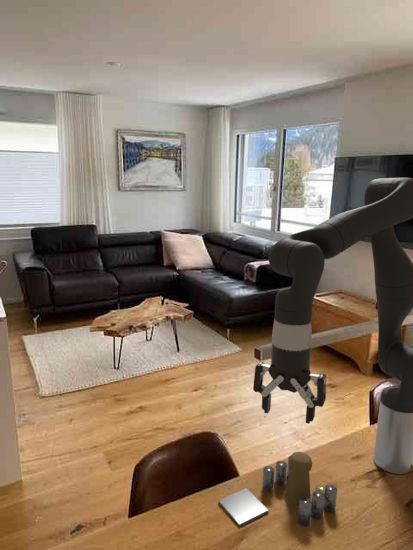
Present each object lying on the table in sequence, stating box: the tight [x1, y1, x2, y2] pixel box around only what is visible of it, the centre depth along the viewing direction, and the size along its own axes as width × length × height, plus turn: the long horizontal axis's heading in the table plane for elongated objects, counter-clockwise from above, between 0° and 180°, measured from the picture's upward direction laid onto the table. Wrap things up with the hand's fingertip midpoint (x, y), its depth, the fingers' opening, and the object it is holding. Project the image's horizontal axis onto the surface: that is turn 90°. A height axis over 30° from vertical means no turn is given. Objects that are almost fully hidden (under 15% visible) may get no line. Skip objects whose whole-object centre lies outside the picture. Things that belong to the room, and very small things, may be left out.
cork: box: [283, 451, 313, 508], centre depth 96 cm, size 6×6×11 cm
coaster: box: [218, 487, 269, 527], centre depth 93 cm, size 8×8×1 cm
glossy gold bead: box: [314, 483, 327, 495], centre depth 99 cm, size 3×3×1 cm
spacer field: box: [261, 455, 338, 527], centre depth 96 cm, size 11×15×5 cm
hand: (287, 416), depth 85 cm, fingers open, 8 cm apart
